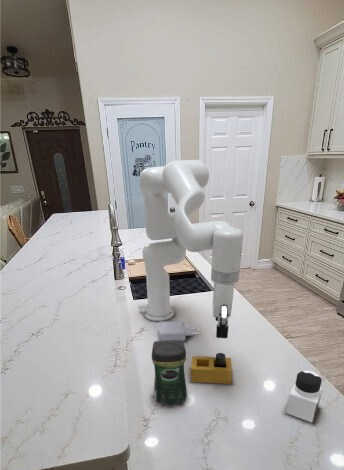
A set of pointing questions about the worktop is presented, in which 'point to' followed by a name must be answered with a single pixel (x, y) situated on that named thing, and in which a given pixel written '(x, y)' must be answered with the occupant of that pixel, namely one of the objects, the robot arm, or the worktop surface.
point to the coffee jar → (169, 371)
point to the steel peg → (220, 360)
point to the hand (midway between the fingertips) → (221, 328)
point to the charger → (174, 331)
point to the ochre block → (210, 370)
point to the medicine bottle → (305, 396)
